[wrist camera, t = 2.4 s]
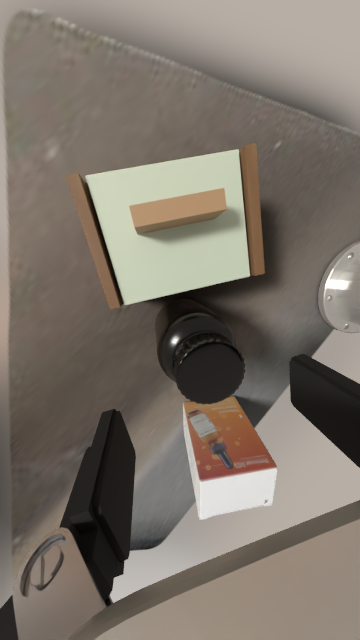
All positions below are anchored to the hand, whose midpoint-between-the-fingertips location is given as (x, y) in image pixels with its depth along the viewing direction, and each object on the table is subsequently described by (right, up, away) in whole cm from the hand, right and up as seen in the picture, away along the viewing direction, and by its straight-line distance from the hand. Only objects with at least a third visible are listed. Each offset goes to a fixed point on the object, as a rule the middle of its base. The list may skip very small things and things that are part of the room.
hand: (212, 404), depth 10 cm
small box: (+3, -10, +18) cm, 21 cm away
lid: (-2, +11, +5) cm, 13 cm away
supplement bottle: (-1, +4, +14) cm, 15 cm away
